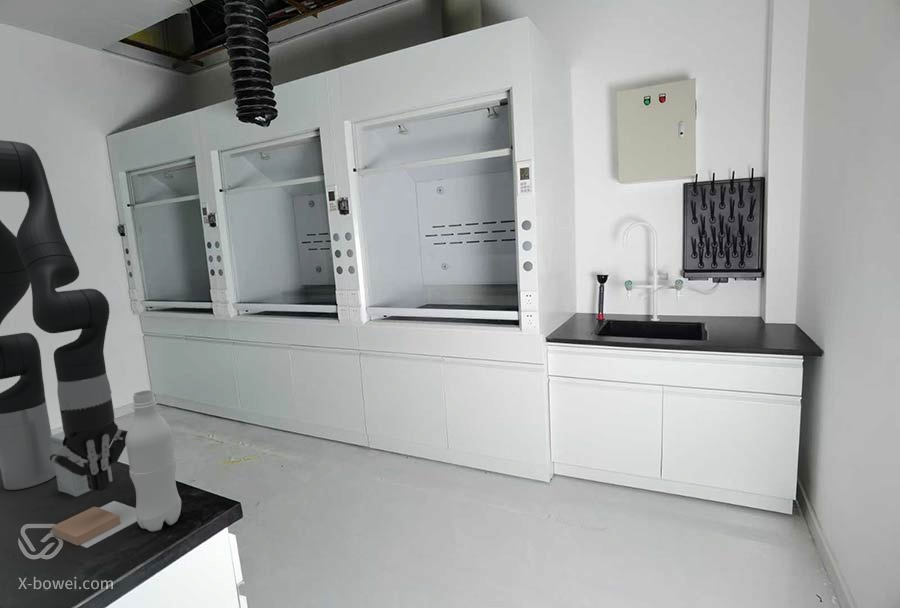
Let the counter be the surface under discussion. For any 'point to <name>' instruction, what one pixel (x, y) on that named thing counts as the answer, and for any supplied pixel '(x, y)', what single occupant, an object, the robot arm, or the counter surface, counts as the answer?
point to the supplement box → (65, 478)
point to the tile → (85, 525)
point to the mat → (126, 519)
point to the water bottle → (152, 465)
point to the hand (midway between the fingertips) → (99, 490)
